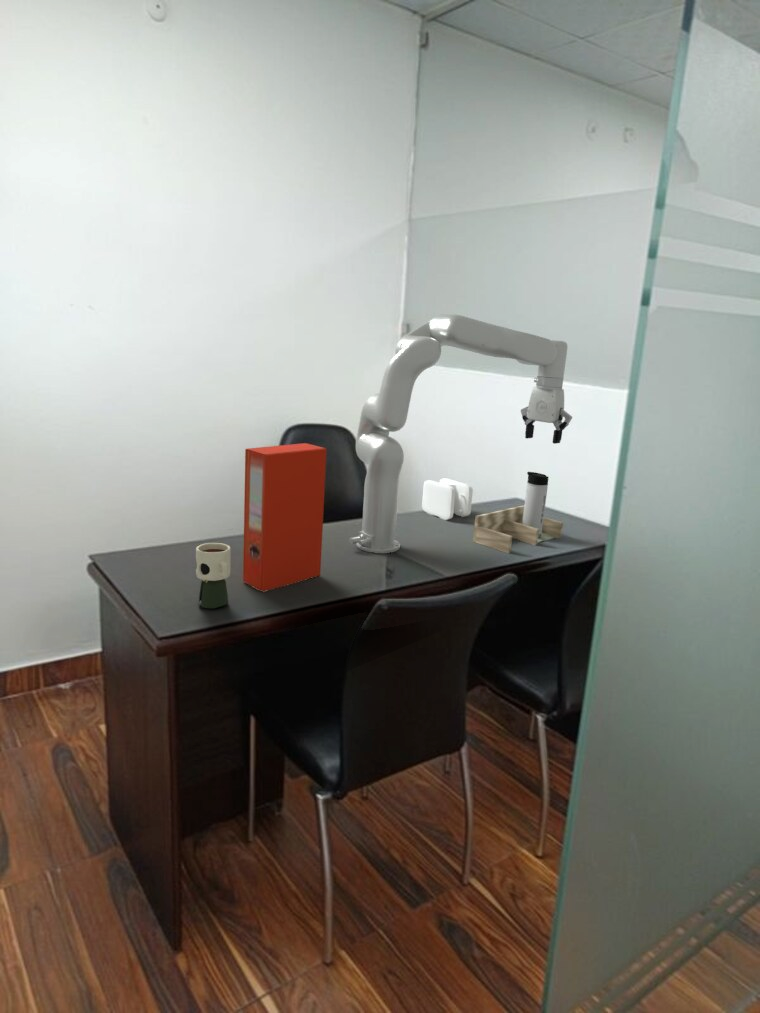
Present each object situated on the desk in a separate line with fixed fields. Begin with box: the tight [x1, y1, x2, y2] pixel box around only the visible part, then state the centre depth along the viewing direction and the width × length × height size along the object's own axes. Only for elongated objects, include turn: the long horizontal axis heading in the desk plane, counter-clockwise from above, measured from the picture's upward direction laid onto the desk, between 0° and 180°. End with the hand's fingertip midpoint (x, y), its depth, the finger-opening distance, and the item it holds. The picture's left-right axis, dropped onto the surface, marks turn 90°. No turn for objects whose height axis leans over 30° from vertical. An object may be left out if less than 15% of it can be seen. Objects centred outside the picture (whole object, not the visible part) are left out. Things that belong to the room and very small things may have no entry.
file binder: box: [242, 442, 327, 591], centre depth 157 cm, size 8×17×32 cm, turn 136°
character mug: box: [195, 542, 232, 609], centre depth 142 cm, size 11×7×13 cm, turn 41°
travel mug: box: [522, 471, 549, 537], centre depth 207 cm, size 6×7×20 cm
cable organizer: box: [421, 477, 473, 521], centre depth 227 cm, size 15×11×12 cm
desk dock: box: [472, 504, 564, 554], centre depth 204 cm, size 28×13×8 cm, turn 134°
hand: (542, 440), depth 202 cm, fingers open, 9 cm apart
